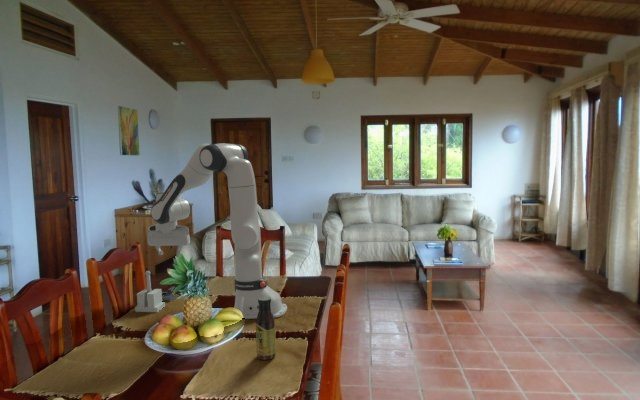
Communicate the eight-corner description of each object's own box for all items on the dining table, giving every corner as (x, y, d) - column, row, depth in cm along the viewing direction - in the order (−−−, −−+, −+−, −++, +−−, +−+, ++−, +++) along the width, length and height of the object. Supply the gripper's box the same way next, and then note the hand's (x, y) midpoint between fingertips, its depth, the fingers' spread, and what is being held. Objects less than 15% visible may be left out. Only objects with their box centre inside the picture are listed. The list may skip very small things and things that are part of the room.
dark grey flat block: (182, 292, 219) (182, 286, 219) (170, 301, 206) (169, 295, 206) (167, 292, 220) (166, 286, 220) (153, 301, 207) (153, 295, 207)
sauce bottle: (255, 354, 149) (252, 296, 147) (273, 351, 152) (270, 293, 149) (259, 362, 143) (256, 302, 141) (278, 359, 146) (275, 299, 143)
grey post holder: (165, 306, 200) (162, 268, 198) (157, 312, 193) (154, 273, 191) (144, 306, 201) (141, 268, 199) (135, 311, 194) (132, 272, 192)
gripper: (191, 224, 215) (193, 252, 217) (151, 225, 218) (153, 253, 220) (185, 226, 209) (188, 255, 211) (144, 227, 212) (147, 256, 214)
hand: (170, 254), depth 215 cm, fingers open, 8 cm apart
